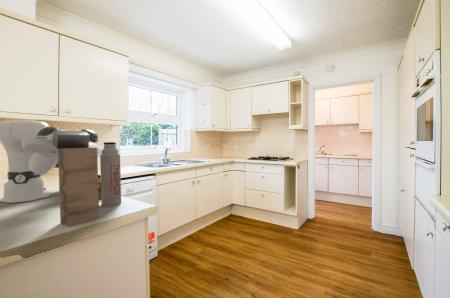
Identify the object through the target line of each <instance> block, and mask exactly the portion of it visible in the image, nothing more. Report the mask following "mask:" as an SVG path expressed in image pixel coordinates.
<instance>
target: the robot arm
mask: <svg viewBox="0 0 450 298" xmlns="http://www.w3.org/2000/svg"><path fill="white" fill-rule="evenodd" d="M55 130H59V131H65V130H63V129H61V128H59V127H57V126H50V125H49V124H48V123H47V122H44V121H40V120H33V119H32V120H31V119H29V120H28V119H27V120H24V119H23V120H22V119H21V120H5V121H2V122H0V143H1V145H2V146H3V148H4V150H5V153H6V156H7V164H8V171H7V175H6V177H7V181H6V182H5V183H3V198H0V202H1V203H2V202H3V203H11V204H12V203H23V202H24V203H26V202H31V201H36V200H40V199H45V198H49V197H50V190H49V189H47V187H45V182H44V181H43V179H42V178H41V176H43V175H45V174H46V175H47V174H48V173H49V172H51V171H52V170H54V168H56V169H59V164H58V149H57V148H56V147H55V146H54V145H52V141H53V133H54V131H55ZM80 131H82V132H86V133H88V134H89V135H90V139H89V145H88V148H97V159H99V158H100V155H102V150H103V148H102V147H101V146H100V145H99V144H98V141H99V136H98V133H97V132H95V131H94V130H92V129H89V128H83V129H81V130H80Z"/></svg>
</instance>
